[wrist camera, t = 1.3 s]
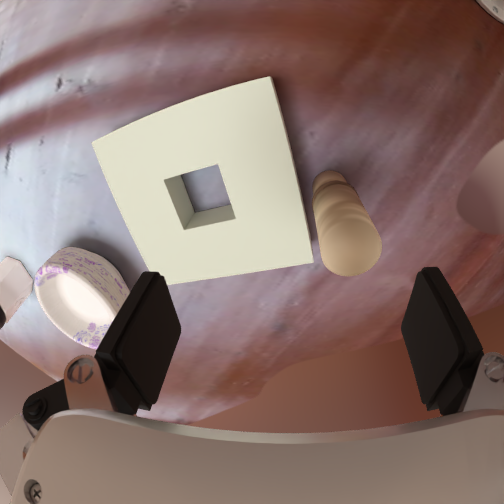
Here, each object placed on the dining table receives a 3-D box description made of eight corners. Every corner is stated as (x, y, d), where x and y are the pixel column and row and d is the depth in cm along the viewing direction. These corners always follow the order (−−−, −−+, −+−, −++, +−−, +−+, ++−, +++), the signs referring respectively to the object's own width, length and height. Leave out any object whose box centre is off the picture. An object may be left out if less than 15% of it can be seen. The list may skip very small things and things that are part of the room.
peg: (346, 163, 27) (381, 216, 17) (352, 202, 29) (383, 270, 19) (305, 171, 28) (315, 227, 18) (313, 209, 30) (324, 281, 20)
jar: (32, 298, 46) (1, 338, 36) (6, 275, 44) (-27, 311, 34) (35, 273, 42) (-2, 317, 32) (7, 248, 39) (-32, 287, 29)
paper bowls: (79, 214, 34) (43, 245, 27) (161, 286, 39) (139, 327, 32) (51, 271, 40) (25, 301, 34) (117, 327, 45) (98, 362, 39)
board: (272, 77, 23) (269, 76, 20) (311, 241, 32) (313, 262, 29) (111, 133, 27) (91, 142, 24) (168, 266, 36) (157, 286, 33)
